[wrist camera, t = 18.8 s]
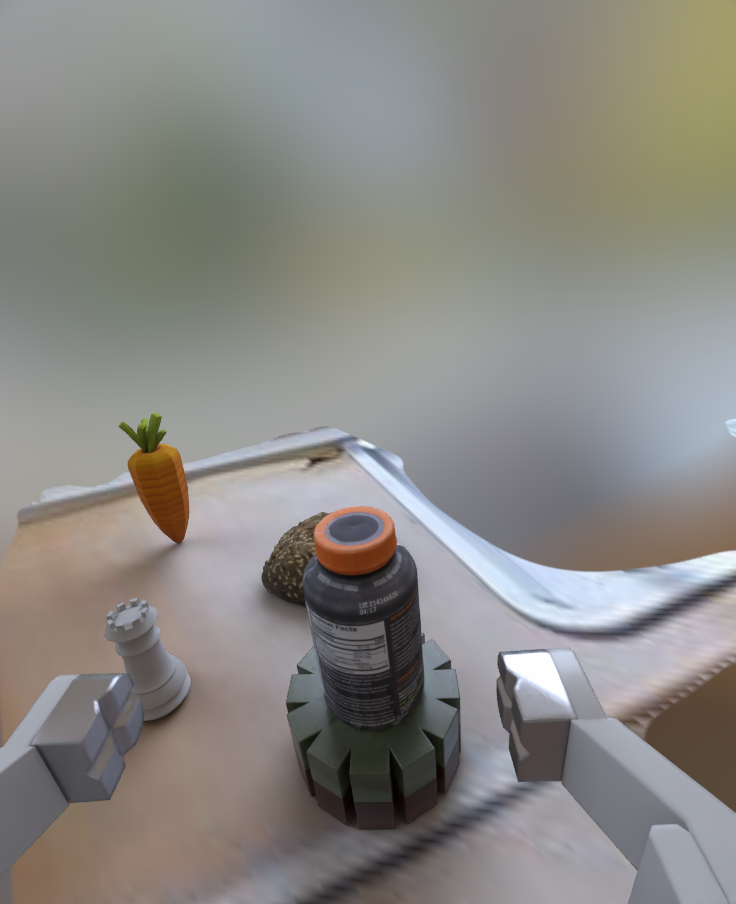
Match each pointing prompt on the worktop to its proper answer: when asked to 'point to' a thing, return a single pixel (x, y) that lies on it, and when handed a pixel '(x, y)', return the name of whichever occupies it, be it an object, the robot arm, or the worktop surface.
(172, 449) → the carrot
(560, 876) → the worktop surface
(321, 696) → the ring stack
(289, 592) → the bread roll
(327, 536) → the pill bottle
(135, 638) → the rook chess piece
